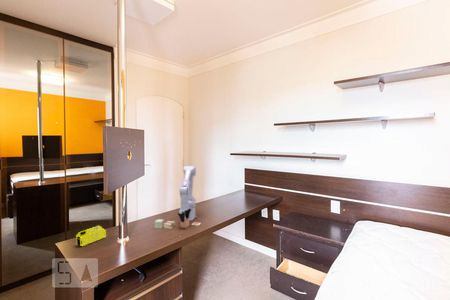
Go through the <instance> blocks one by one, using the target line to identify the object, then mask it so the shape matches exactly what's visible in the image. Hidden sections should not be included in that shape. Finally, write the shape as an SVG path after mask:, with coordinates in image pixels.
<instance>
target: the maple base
mask: <svg viewBox="0 0 450 300" xmlns="http://www.w3.org/2000/svg"><path fill="white" fill-rule="evenodd" d="M174 227H176V221H172V220H167V221H166V222H164V226H163V228H164V229H168V230H169V229H171V230H172V229H173V228H174Z"/></svg>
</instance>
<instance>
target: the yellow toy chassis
mask: <svg viewBox="0 0 450 300" xmlns="http://www.w3.org/2000/svg"><path fill="white" fill-rule="evenodd" d="M102 227H103V226H101V225H96V226H93V227H91V228H87V229H84V230H82V231H79V232H78V233H77V234H76V235H75V240H76V241H75V242H76V245H77V244H78V245H80V246H82V247H84V246H88V245H89V244H91V243H94V242H97V241H100V240H101V239H104V238H106V237H107V229H104V228H102ZM78 245H77V246H78ZM80 246H79V247H80Z"/></svg>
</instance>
